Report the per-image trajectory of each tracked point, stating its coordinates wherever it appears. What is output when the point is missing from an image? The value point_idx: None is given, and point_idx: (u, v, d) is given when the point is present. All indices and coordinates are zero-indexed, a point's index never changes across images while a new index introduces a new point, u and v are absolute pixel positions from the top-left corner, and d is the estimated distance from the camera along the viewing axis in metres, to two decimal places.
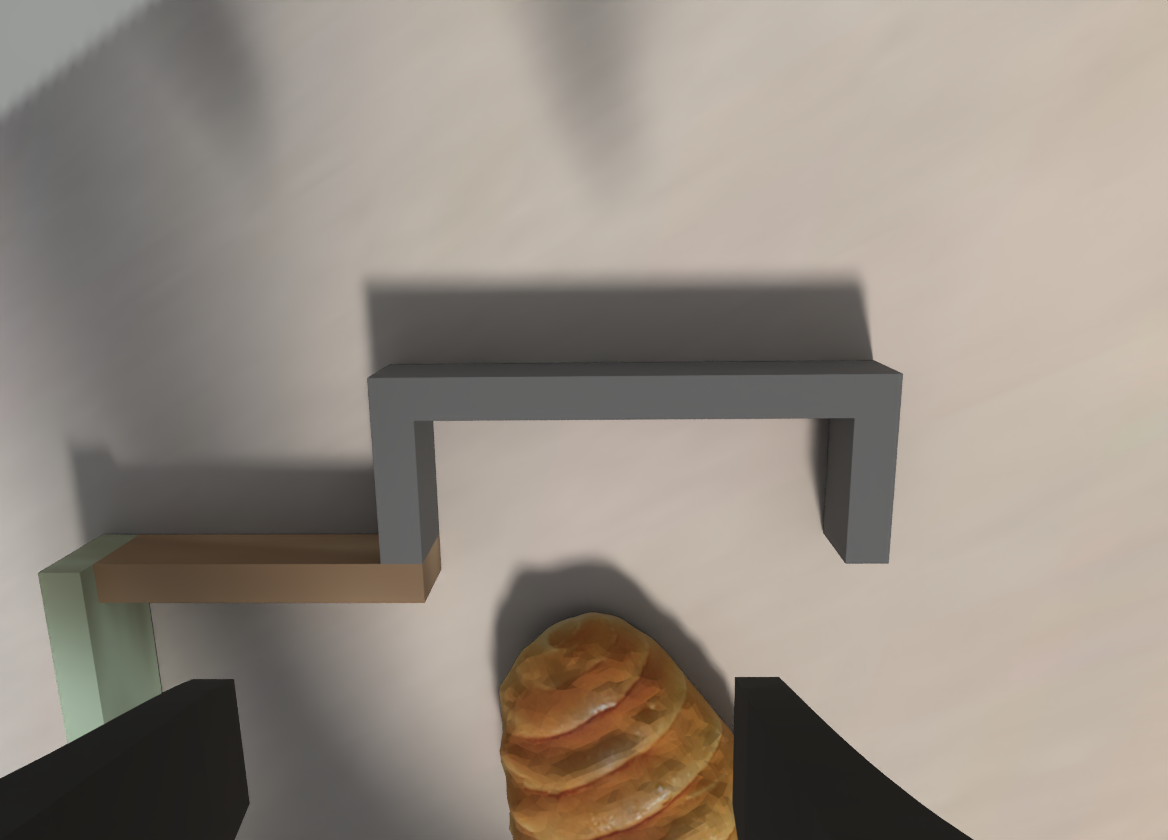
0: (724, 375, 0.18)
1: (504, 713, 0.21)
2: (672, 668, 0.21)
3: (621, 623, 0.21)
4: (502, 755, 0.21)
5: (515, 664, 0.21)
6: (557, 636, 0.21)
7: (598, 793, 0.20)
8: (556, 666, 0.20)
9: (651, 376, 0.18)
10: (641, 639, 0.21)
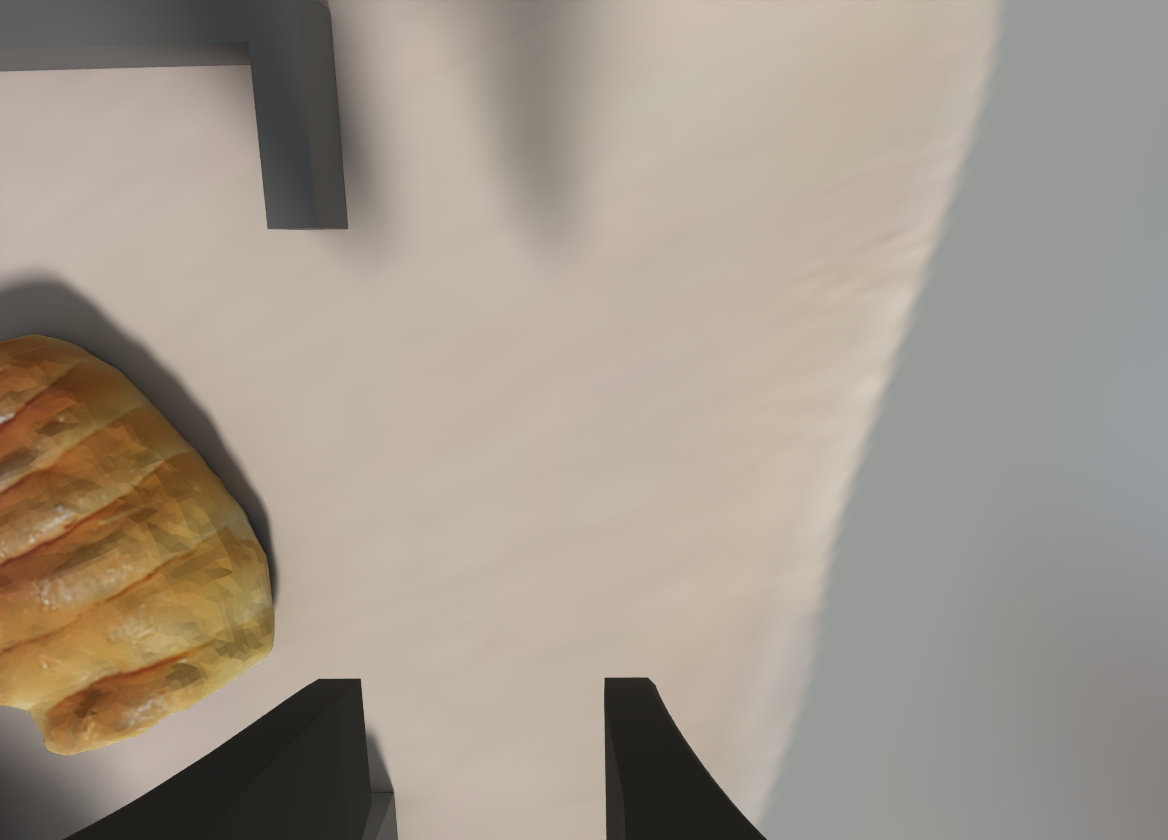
0: None
1: None
2: (119, 392, 0.18)
3: (68, 346, 0.19)
4: None
5: None
6: None
7: None
8: None
9: None
10: (81, 358, 0.18)
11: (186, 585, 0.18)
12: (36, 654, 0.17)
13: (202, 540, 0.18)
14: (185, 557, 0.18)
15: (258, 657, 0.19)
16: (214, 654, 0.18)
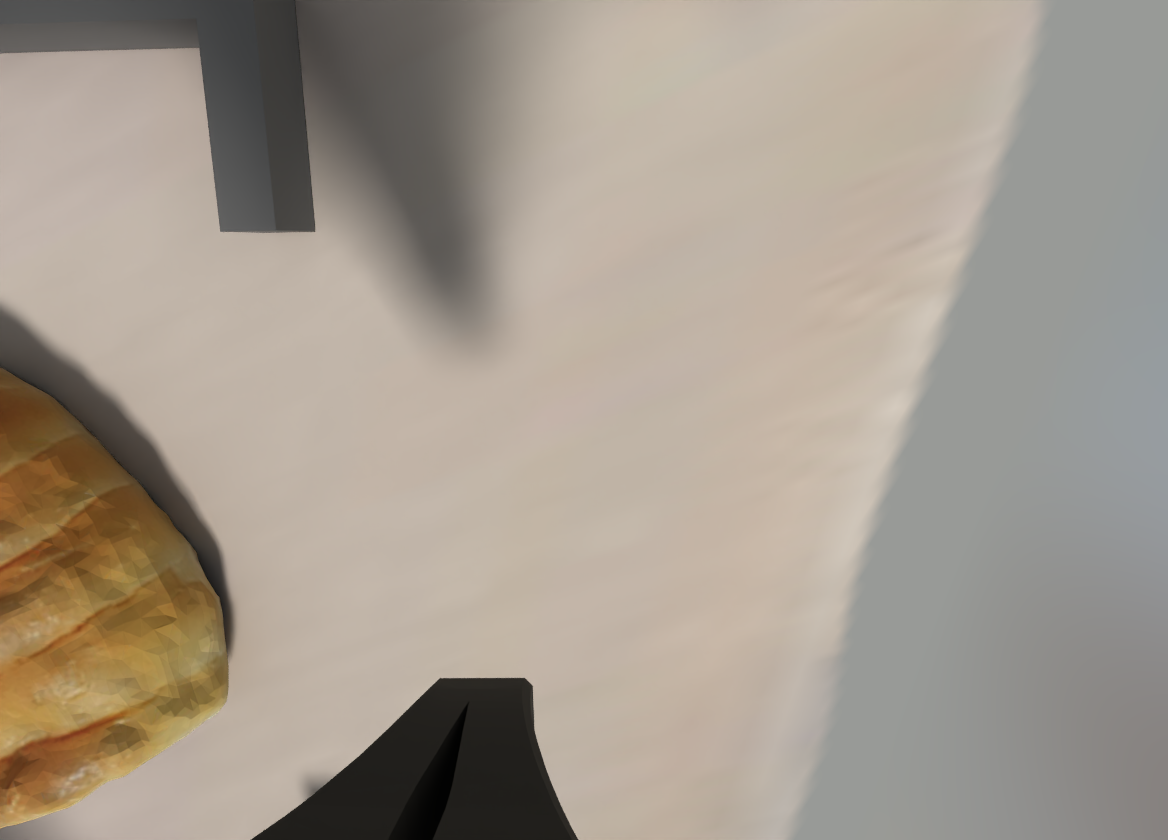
0: None
1: None
2: (46, 421, 0.16)
3: None
4: None
5: None
6: None
7: None
8: None
9: None
10: (4, 383, 0.16)
11: (122, 637, 0.16)
12: None
13: (140, 586, 0.16)
14: (121, 605, 0.16)
15: (209, 712, 0.17)
16: (156, 713, 0.16)
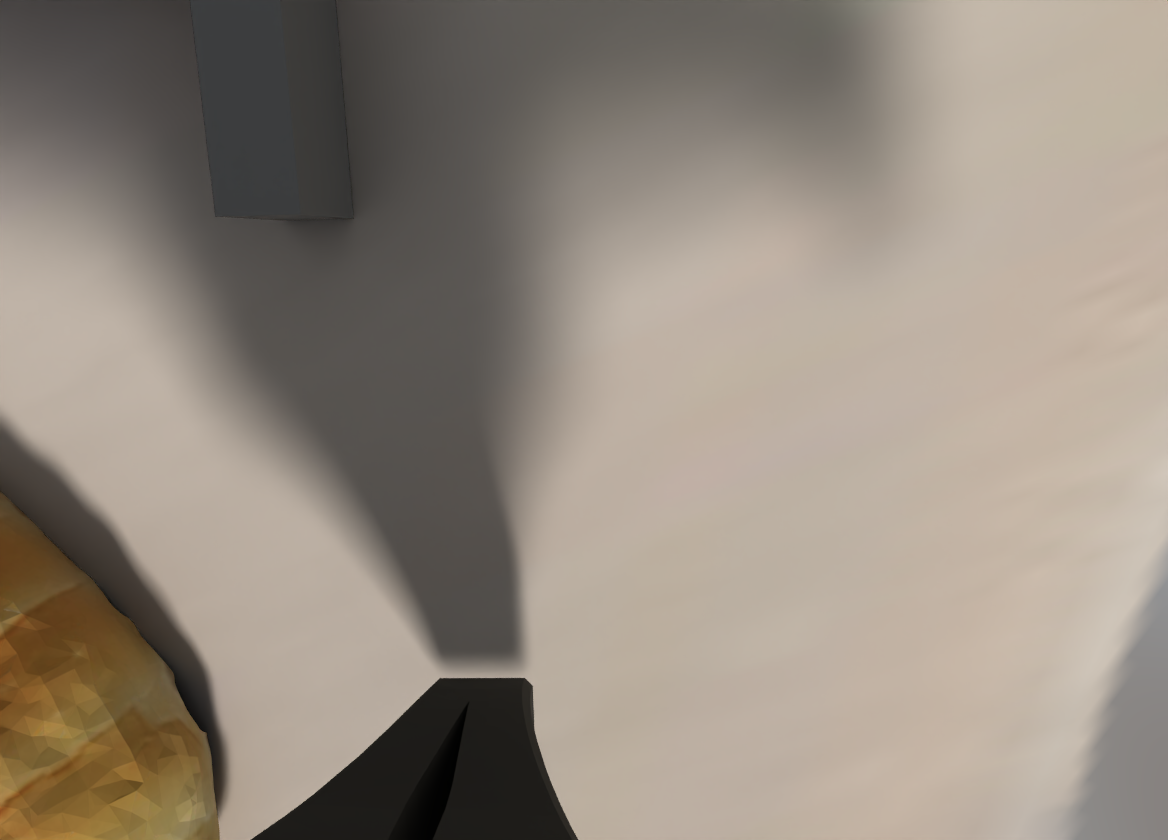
0: None
1: None
2: None
3: None
4: None
5: None
6: None
7: None
8: None
9: None
10: None
11: (60, 821, 0.11)
12: None
13: (88, 741, 0.11)
14: (59, 773, 0.11)
15: None
16: None
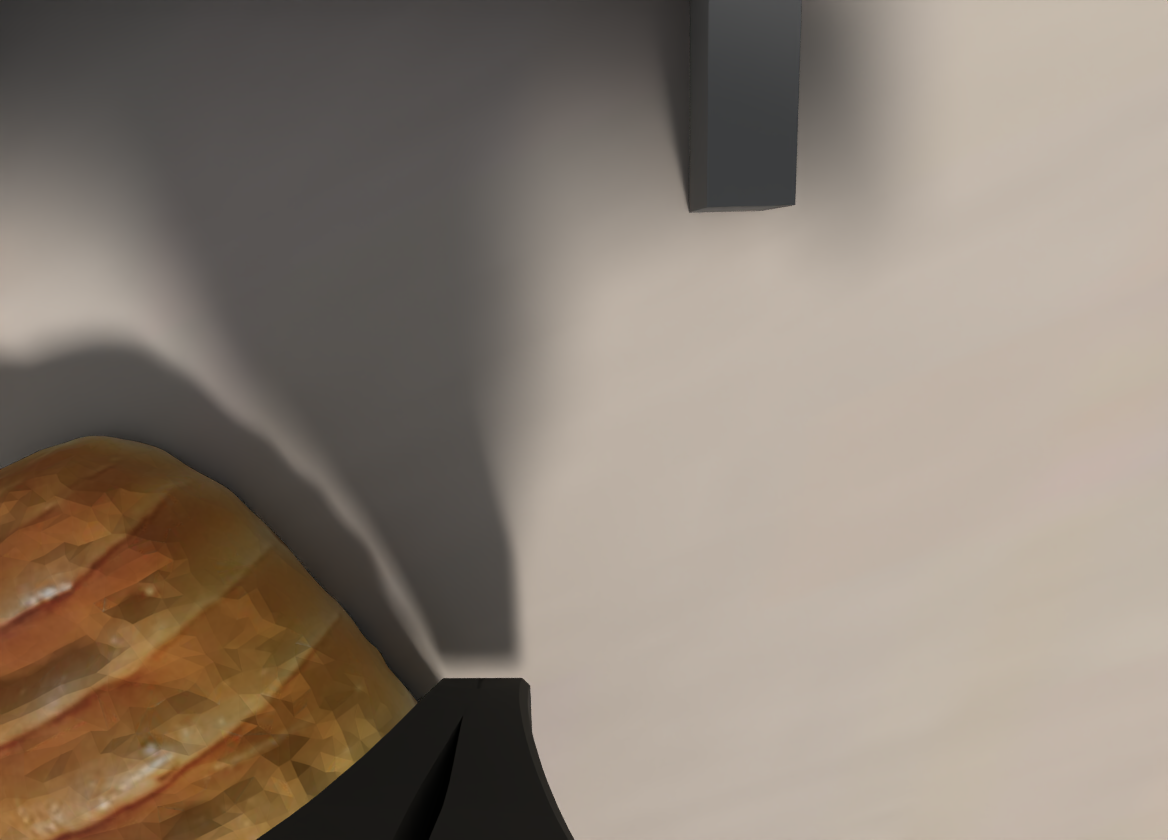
0: None
1: None
2: (234, 532, 0.11)
3: (150, 454, 0.12)
4: None
5: None
6: (3, 470, 0.11)
7: (31, 758, 0.10)
8: None
9: None
10: (174, 476, 0.11)
11: None
12: None
13: None
14: None
15: None
16: None
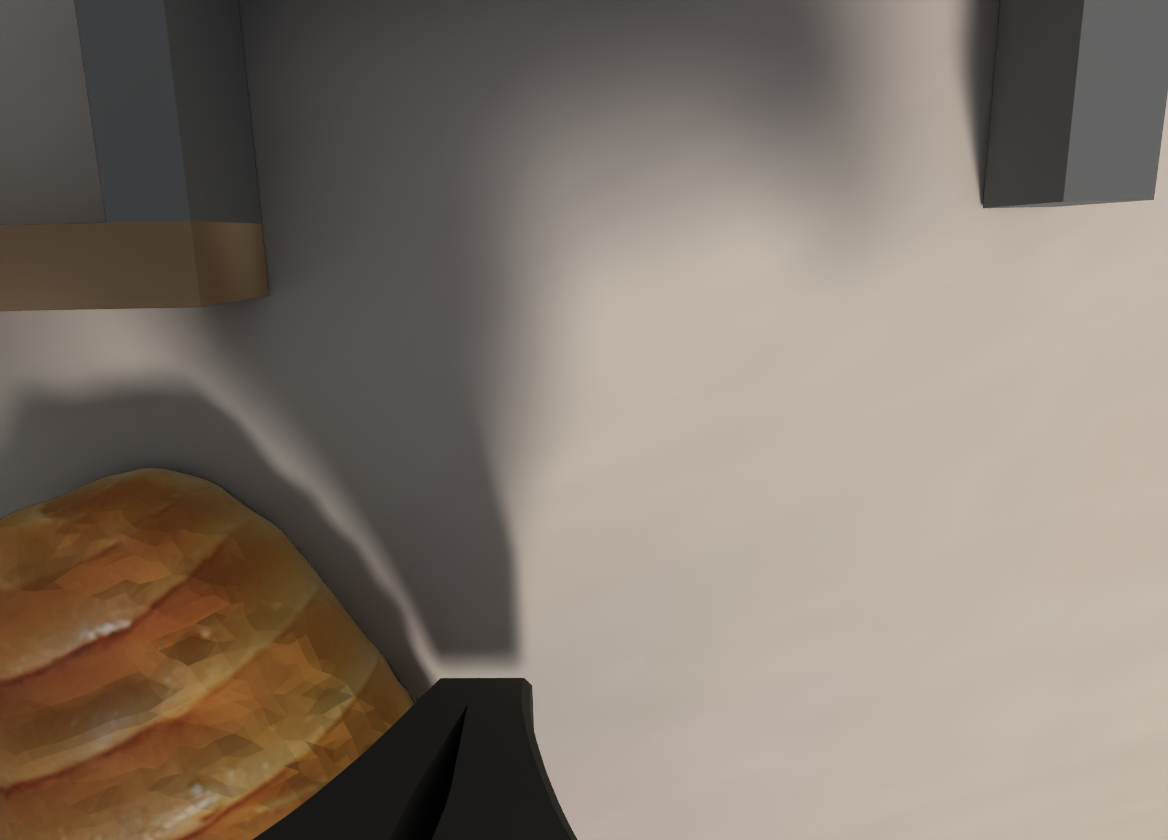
0: None
1: None
2: (285, 575, 0.12)
3: (207, 491, 0.12)
4: None
5: None
6: (66, 498, 0.11)
7: (78, 790, 0.10)
8: (38, 549, 0.11)
9: None
10: (231, 516, 0.12)
11: None
12: None
13: None
14: None
15: None
16: None
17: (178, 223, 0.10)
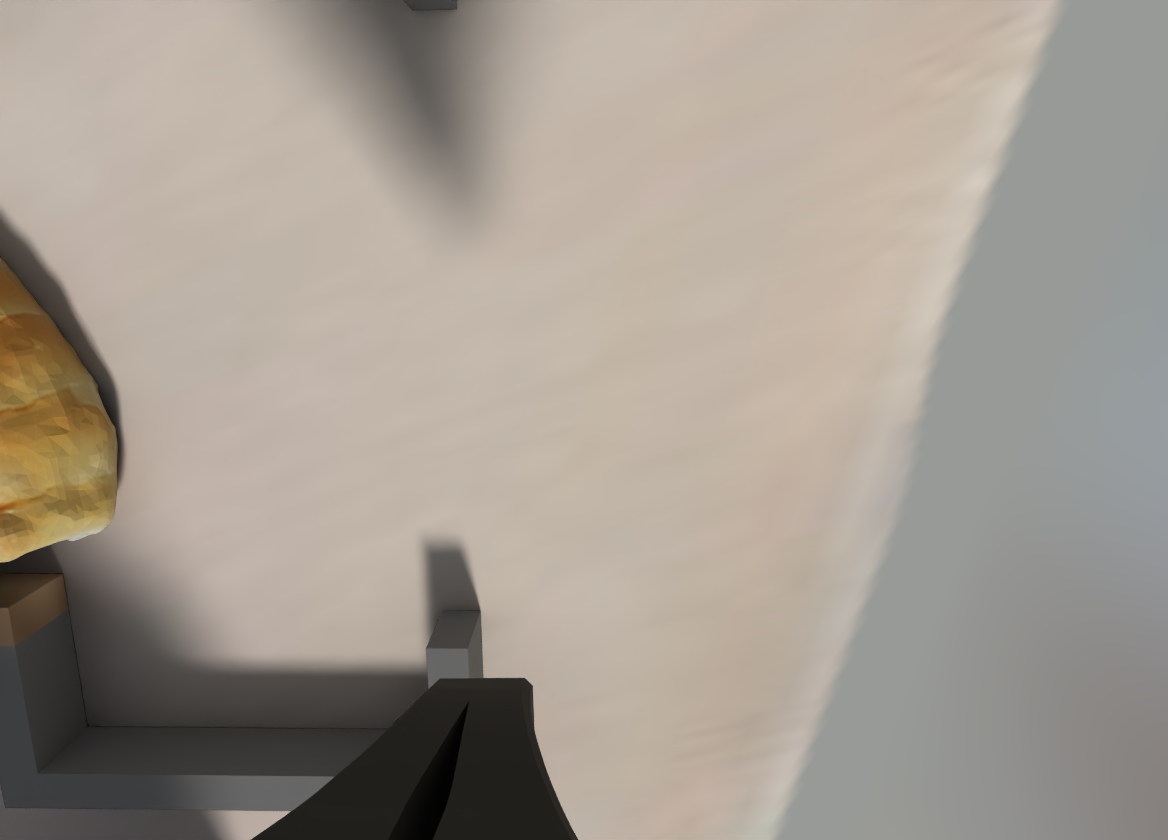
0: None
1: None
2: None
3: None
4: None
5: None
6: None
7: None
8: None
9: None
10: None
11: (17, 437, 0.18)
12: None
13: (39, 397, 0.18)
14: (19, 410, 0.18)
15: (93, 520, 0.19)
16: (43, 508, 0.18)
17: None
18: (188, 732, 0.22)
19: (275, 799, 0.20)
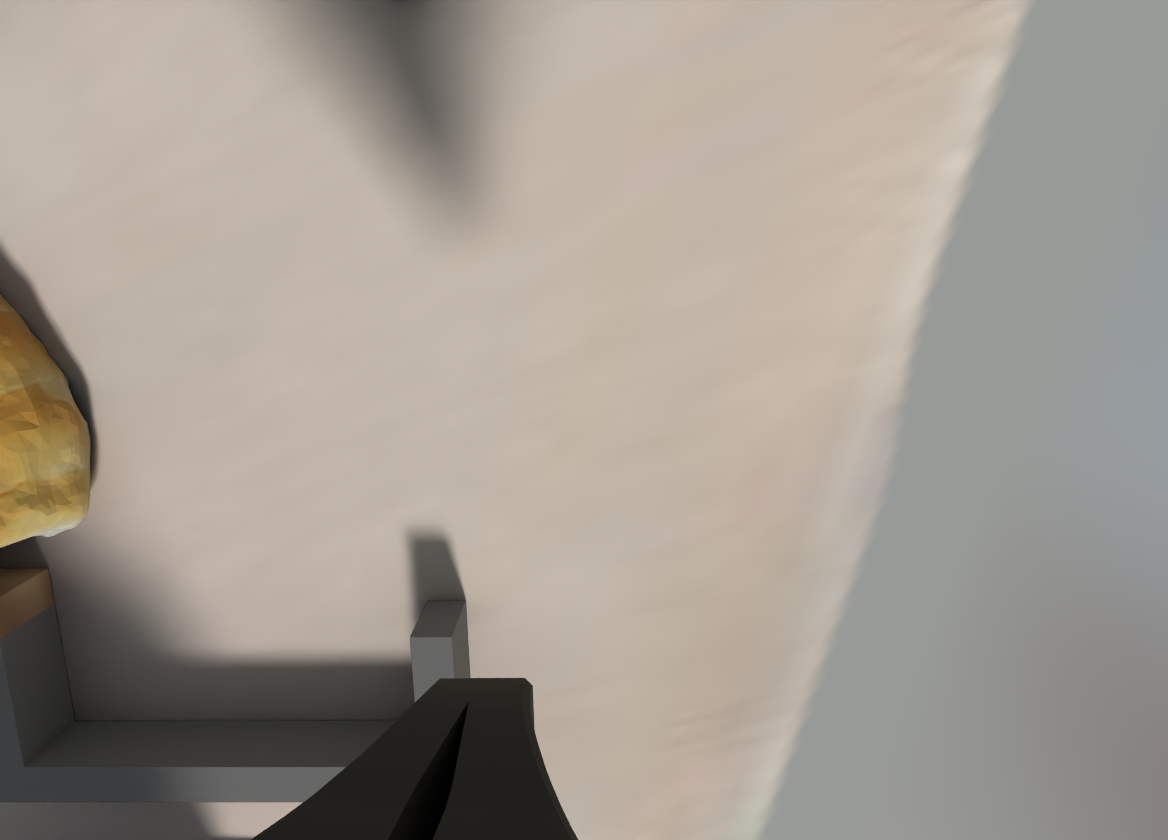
0: None
1: None
2: None
3: None
4: None
5: None
6: None
7: None
8: None
9: None
10: None
11: None
12: None
13: (6, 393, 0.18)
14: None
15: (66, 515, 0.19)
16: (13, 503, 0.18)
17: None
18: (175, 725, 0.22)
19: (262, 790, 0.20)
